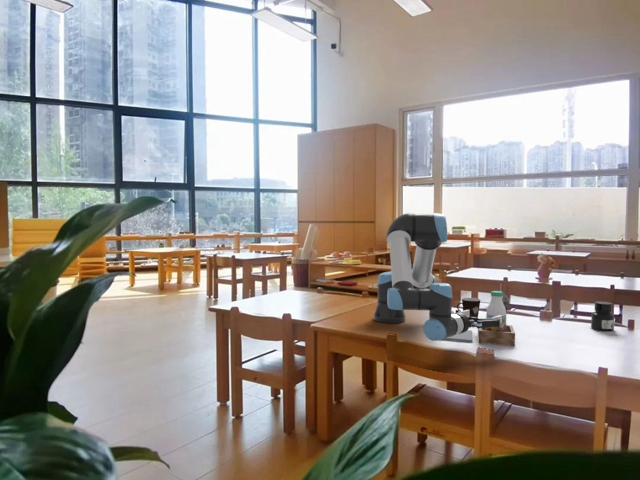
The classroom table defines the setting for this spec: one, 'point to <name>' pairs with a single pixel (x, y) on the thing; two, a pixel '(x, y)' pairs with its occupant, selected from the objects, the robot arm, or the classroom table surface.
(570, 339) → the classroom table surface
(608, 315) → the ink bottle
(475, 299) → the coffee mug
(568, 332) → the classroom table surface
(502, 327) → the milk bottle
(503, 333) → the caddy
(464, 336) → the mat
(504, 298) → the beverage cup
